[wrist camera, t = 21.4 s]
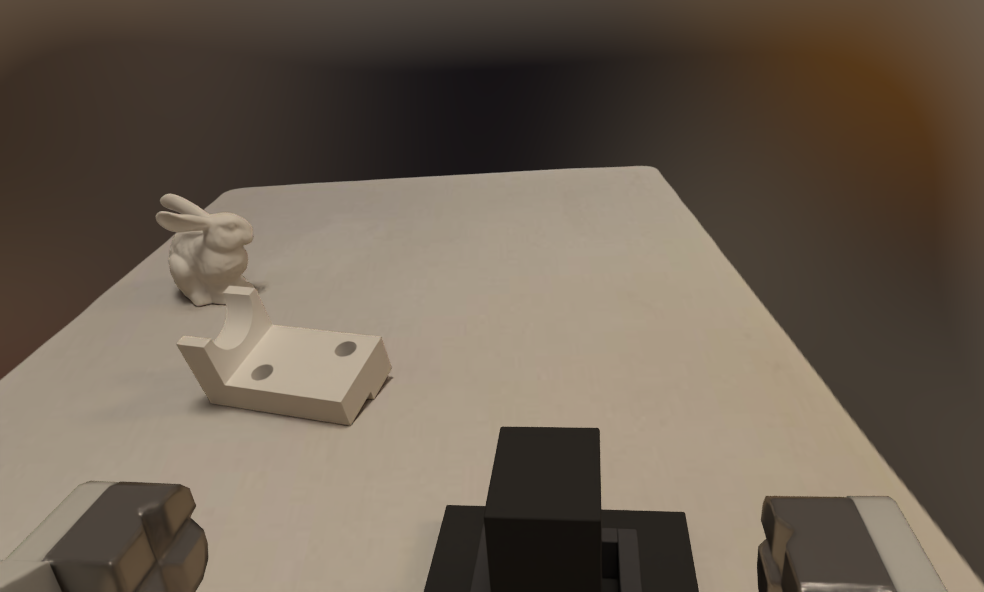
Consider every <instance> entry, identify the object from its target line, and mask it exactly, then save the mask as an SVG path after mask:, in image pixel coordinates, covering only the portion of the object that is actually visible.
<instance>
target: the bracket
mask: <svg viewBox="0 0 984 592" xmlns="http://www.w3.org/2000/svg"><path fill="white" fill-rule="evenodd" d="M223 294H224V297H225V300H226V307H227V312H226V320H225V323H224V326H223V329H222V331H221V333H220V334H219V336H218V337H217V338H216V339H215V340H214V341H212V339H208V338H200V337H191V336H183V337H182V338H181V339H180V340H179V341H178V342H177V343H176V345H177V346H178V348H179V350H180V352H181V353H182V355H183V357H184V358H185V360H186V362H187V363H188V365H189V367H190V369H191V370H192V372H193V374H194V375H195V377H196V379H197V380H198V382H199V384H200V386H201V387H202V389H203V391H204V392H205V394H206V396H207V398H208V399H209V401H210V403H211V404H218V405H224V406H230V407H236V408H243V409H249V410H255V411H262V412H268V413H274V414H280V415H287V416H293V417H299V418H305V419H312V420H318V421H324V422H331V423H337V424H343V425H349V426H351V424H352V423H353V421H354V419H355V418H356V416H357V414H358V413H359V411H360V409H361V407H362V406H363V404H364V402H365V401H366V399H373V400H374V399H375V397H376V395H377V394H378V392H379V390H380V388H381V387H382V385H383V383H384V381H385V380H386V378H387V376H388V374H389V373H390V371H391V369H392V366H391V364H390V361H389V358H388V355H387V352H386V349H385V346H384V343H383V340H382V337H379V336H370V335H361V334H351V333H342V332H333V331H324V330H315V329H306V328H297V327H288V326H279V325H272V323H271V320H270V318H269V316H268V314H267V312H266V310H265V307H264V305H263V303H262V301H261V299H260V297H259V294H258V292H257V290H256V288H250V287H239V286H229V287H228V288H227V289H226V290H225V291H224V292H223Z"/></svg>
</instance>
